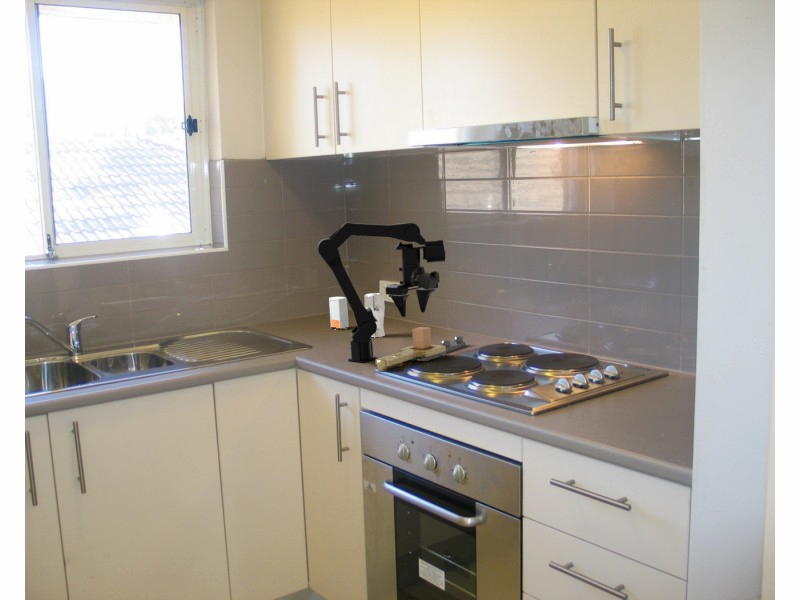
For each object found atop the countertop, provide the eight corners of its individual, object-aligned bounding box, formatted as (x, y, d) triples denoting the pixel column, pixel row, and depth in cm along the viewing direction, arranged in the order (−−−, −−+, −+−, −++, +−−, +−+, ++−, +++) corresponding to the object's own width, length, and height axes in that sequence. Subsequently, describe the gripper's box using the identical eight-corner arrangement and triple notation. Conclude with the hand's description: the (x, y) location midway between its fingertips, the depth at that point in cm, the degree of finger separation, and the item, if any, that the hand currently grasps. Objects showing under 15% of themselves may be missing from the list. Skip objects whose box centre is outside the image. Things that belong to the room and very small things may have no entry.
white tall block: (387, 334, 290) (384, 292, 288) (385, 337, 283) (382, 295, 281) (368, 334, 291) (365, 293, 289) (365, 338, 284) (362, 296, 282)
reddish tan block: (424, 359, 245) (422, 330, 244) (413, 358, 248) (412, 329, 246) (432, 356, 248) (430, 327, 247) (421, 355, 251) (420, 326, 249)
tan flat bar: (392, 373, 229) (392, 362, 229) (366, 369, 235) (365, 359, 235) (474, 346, 260) (473, 336, 260) (448, 343, 267) (448, 334, 266)
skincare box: (330, 329, 307) (328, 297, 306) (339, 327, 310) (337, 296, 308) (340, 330, 303) (338, 298, 301) (349, 328, 306) (347, 297, 304)
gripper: (411, 267, 235) (414, 321, 237) (450, 261, 248) (452, 311, 251) (383, 266, 242) (385, 318, 244) (422, 260, 256) (424, 309, 258)
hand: (413, 314), depth 249 cm, fingers open, 9 cm apart
